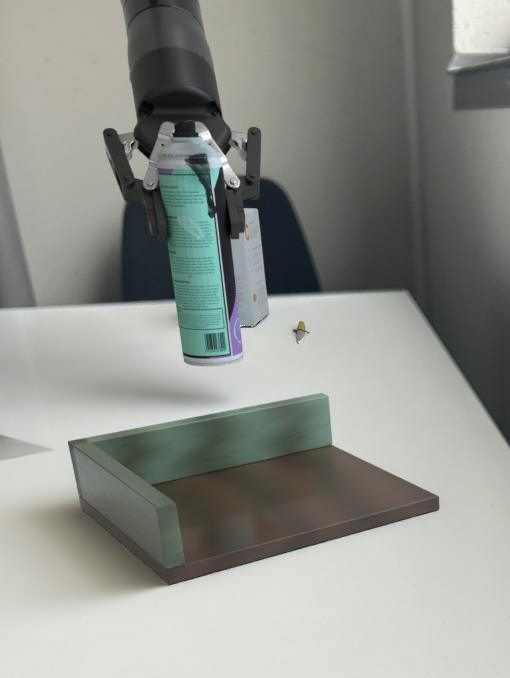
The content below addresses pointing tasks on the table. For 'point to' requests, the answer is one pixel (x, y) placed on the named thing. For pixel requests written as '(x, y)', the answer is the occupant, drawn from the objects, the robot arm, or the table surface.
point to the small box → (250, 271)
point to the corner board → (235, 487)
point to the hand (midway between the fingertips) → (199, 233)
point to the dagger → (300, 330)
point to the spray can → (200, 248)
